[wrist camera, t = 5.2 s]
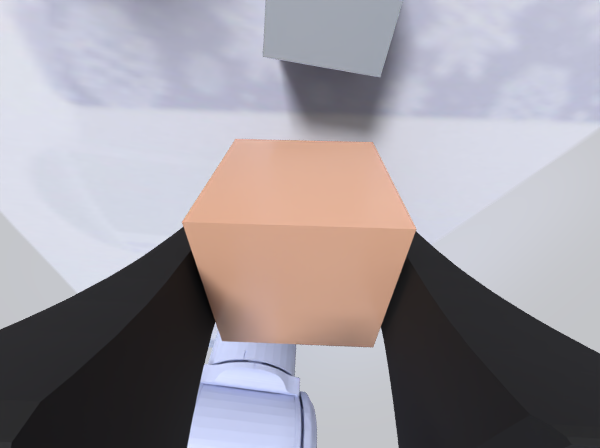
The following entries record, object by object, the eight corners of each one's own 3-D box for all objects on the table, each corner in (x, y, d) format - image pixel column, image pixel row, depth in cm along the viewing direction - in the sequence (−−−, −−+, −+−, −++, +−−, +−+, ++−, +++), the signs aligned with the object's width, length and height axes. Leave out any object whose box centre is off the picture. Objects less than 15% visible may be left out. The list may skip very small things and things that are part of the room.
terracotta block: (354, 244, 13) (373, 347, 9) (250, 241, 13) (222, 341, 9) (372, 142, 9) (416, 229, 6) (235, 139, 10) (182, 222, 6)
